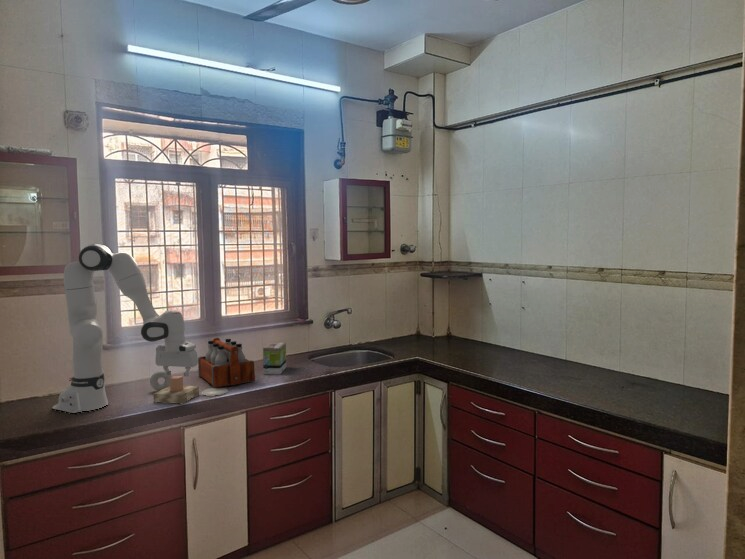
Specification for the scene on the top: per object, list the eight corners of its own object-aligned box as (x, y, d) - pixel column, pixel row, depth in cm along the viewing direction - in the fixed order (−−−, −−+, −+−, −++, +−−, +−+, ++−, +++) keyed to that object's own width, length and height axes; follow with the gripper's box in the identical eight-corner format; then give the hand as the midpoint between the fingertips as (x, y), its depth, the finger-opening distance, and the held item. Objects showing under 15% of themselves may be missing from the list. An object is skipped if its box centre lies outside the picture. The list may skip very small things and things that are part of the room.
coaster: (196, 395, 235) (196, 394, 235) (210, 388, 247) (210, 386, 247) (219, 397, 232) (218, 396, 232) (232, 389, 244) (232, 388, 244)
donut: (172, 388, 247) (172, 368, 246) (172, 390, 243) (171, 370, 242) (150, 390, 243) (149, 370, 243) (150, 392, 240) (149, 372, 239)
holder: (153, 402, 226) (153, 393, 226) (173, 393, 239) (173, 384, 239) (180, 404, 222) (180, 395, 222) (199, 395, 236) (198, 386, 236)
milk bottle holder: (215, 389, 242) (214, 349, 241) (196, 374, 271) (195, 339, 270) (257, 382, 254) (256, 344, 253) (235, 369, 283) (234, 335, 282)
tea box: (281, 374, 271) (280, 347, 270) (262, 374, 271) (262, 347, 270) (286, 367, 286) (286, 342, 285) (269, 367, 286) (268, 342, 285)
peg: (170, 399, 229) (169, 378, 229) (175, 397, 233) (175, 375, 233) (178, 400, 228) (177, 378, 228) (183, 397, 232) (182, 376, 232)
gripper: (151, 346, 229) (153, 376, 230) (190, 348, 223) (192, 378, 225) (160, 343, 235) (162, 372, 236) (198, 344, 230) (200, 374, 231)
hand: (177, 375), depth 230 cm, fingers open, 8 cm apart
